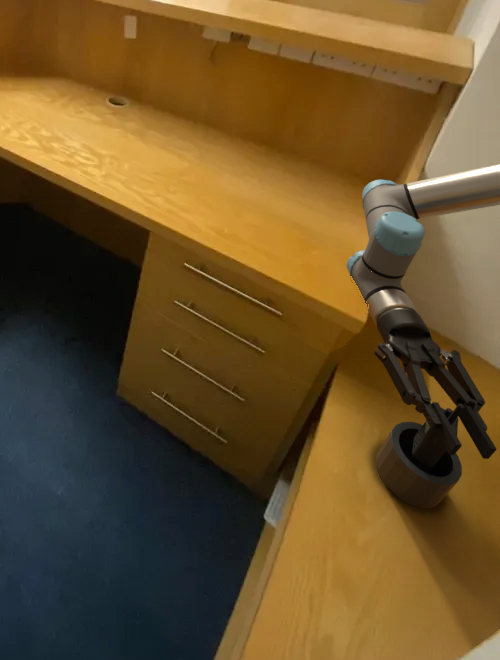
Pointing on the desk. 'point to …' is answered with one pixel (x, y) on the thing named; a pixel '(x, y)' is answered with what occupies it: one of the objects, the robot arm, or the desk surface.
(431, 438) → the walkie-talkie
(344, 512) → the desk surface
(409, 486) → the gray ring cup
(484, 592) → the desk surface
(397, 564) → the desk surface
